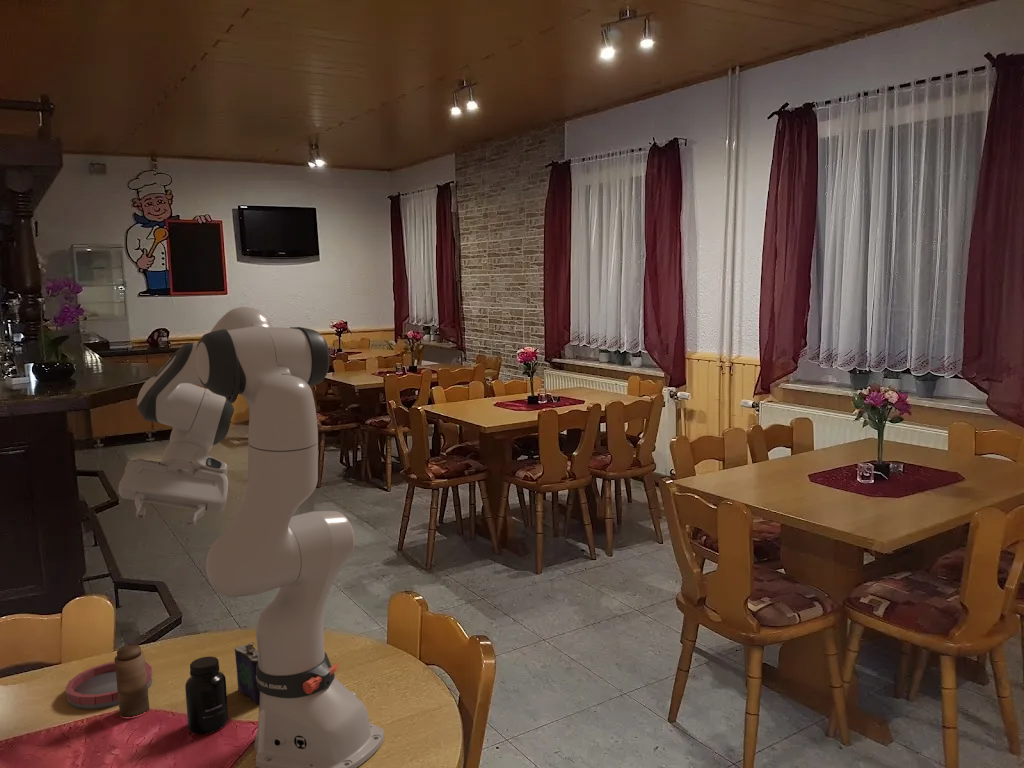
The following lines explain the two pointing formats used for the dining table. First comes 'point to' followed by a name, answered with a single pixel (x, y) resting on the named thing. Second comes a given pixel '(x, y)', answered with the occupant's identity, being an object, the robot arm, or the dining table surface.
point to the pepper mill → (131, 681)
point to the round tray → (97, 687)
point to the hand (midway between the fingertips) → (165, 520)
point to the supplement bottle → (206, 696)
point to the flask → (247, 672)
